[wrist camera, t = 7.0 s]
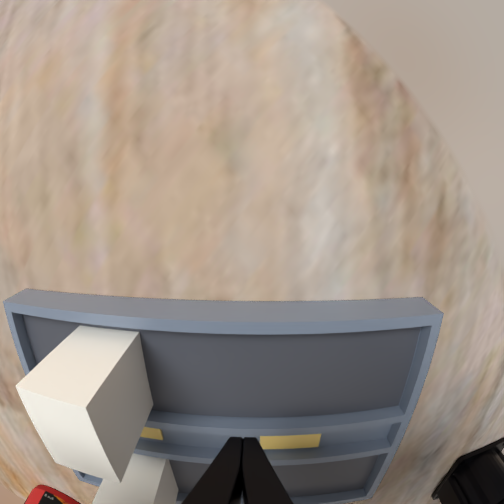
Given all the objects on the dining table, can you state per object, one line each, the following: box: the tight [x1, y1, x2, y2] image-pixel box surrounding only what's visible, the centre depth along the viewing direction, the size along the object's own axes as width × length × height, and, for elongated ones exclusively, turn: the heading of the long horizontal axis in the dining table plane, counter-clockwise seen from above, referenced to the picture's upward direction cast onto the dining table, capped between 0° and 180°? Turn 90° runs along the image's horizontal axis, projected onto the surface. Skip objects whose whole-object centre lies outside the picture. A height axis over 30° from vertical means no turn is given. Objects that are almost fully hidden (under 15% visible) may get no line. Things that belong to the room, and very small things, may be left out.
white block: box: [92, 453, 178, 504], centre depth 11 cm, size 3×4×5 cm
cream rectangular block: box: [16, 325, 154, 483], centre depth 10 cm, size 3×4×5 cm
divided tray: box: [3, 289, 444, 504], centre depth 13 cm, size 20×14×2 cm
